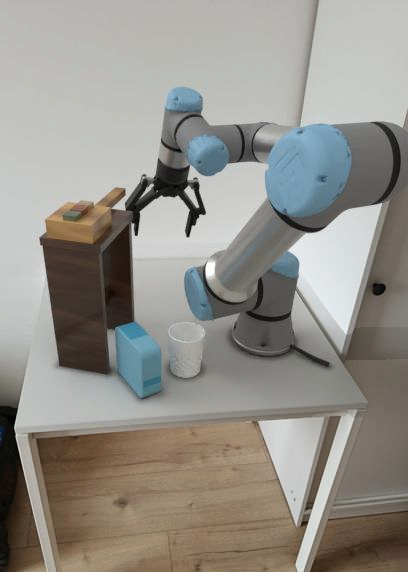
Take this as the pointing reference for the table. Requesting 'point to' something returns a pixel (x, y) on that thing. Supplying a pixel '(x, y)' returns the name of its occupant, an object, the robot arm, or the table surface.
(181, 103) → the robot arm
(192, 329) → the white cup
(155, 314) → the table surface
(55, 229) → the wooden box with handle
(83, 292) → the dark wooden cabinet
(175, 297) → the table surface
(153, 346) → the data package
